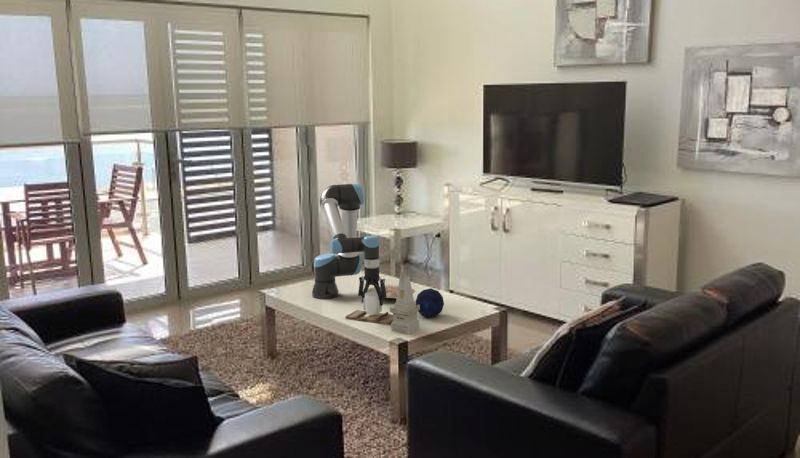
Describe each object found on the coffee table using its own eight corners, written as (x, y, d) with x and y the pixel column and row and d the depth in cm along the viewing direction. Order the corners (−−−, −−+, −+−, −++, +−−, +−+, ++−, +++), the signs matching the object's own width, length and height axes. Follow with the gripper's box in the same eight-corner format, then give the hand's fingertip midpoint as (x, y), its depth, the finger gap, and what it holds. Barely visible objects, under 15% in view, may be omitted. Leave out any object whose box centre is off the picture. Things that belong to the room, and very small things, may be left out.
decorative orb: (454, 307, 353) (441, 281, 358) (434, 313, 343) (420, 286, 347) (438, 318, 363) (425, 293, 367) (417, 325, 353) (405, 299, 357)
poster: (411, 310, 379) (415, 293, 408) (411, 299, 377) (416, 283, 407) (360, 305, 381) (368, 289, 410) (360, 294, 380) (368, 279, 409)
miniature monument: (390, 331, 333) (389, 270, 328) (401, 325, 342) (400, 265, 337) (409, 334, 328) (408, 273, 323) (420, 328, 337) (419, 268, 332)
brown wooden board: (345, 318, 354) (345, 314, 354) (357, 312, 365) (357, 307, 364) (389, 324, 343) (389, 320, 343) (400, 318, 354) (400, 313, 353)
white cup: (383, 312, 354) (383, 293, 352) (372, 316, 348) (372, 296, 346) (372, 309, 359) (372, 290, 357) (361, 313, 353) (361, 294, 351)
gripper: (350, 266, 350) (351, 310, 354) (386, 270, 341) (387, 315, 346) (357, 263, 357) (358, 306, 361) (393, 267, 348) (393, 311, 352)
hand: (372, 310), depth 353 cm, fingers closed on white cup, 8 cm apart
